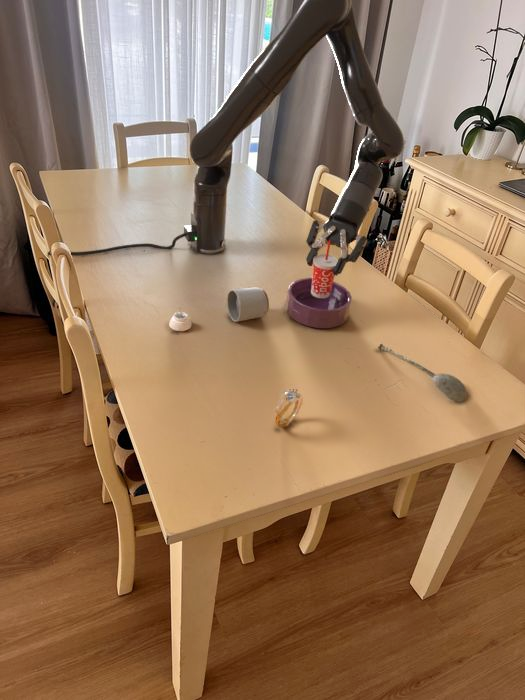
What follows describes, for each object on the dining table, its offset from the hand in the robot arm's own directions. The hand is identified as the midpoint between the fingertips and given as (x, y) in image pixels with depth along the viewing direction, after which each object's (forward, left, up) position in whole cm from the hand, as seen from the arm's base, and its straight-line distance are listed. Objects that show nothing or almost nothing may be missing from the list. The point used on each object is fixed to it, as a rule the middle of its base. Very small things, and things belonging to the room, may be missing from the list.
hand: (321, 269), depth 120 cm
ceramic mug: (-17, +5, -13) cm, 22 cm away
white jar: (-33, +4, -13) cm, 35 cm away
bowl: (+1, +1, -13) cm, 13 cm away
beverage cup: (+1, +1, -8) cm, 8 cm away
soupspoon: (+12, -27, -13) cm, 32 cm away
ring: (-23, -32, -13) cm, 41 cm away
